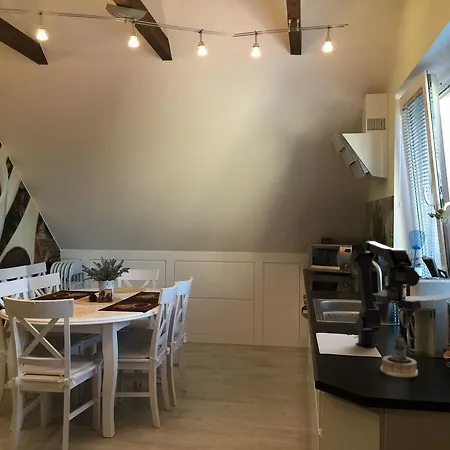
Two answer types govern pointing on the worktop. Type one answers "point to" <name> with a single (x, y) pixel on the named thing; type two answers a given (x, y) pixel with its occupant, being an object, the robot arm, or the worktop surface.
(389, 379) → the worktop surface
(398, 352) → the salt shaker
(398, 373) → the beige round ring
